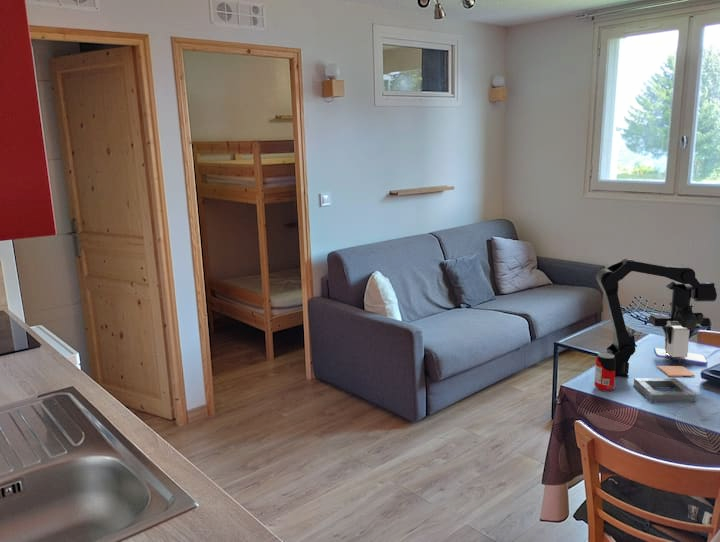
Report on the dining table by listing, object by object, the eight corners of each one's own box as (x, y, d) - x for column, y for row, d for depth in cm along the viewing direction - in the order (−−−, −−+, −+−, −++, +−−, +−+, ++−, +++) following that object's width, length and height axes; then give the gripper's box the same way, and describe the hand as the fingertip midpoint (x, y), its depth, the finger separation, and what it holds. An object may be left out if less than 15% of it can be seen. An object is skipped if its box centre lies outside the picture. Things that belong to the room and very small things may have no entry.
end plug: (672, 357, 201) (674, 329, 199) (666, 352, 206) (668, 325, 204) (687, 357, 200) (689, 329, 198) (680, 352, 205) (682, 325, 203)
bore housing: (651, 401, 184) (652, 394, 183) (633, 385, 197) (634, 378, 197) (695, 402, 183) (696, 394, 183) (674, 385, 197) (675, 378, 196)
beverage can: (615, 392, 191) (617, 359, 189) (595, 391, 193) (597, 357, 191) (612, 385, 197) (615, 352, 195) (593, 383, 199) (595, 351, 197)
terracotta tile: (668, 376, 204) (669, 375, 204) (657, 367, 213) (657, 366, 213) (694, 376, 203) (695, 375, 203) (682, 367, 212) (682, 366, 212)
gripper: (663, 307, 192) (659, 351, 195) (721, 307, 190) (716, 351, 194) (649, 299, 203) (646, 341, 206) (704, 298, 201) (700, 341, 204)
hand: (677, 343), depth 202 cm, fingers closed on end plug, 5 cm apart
